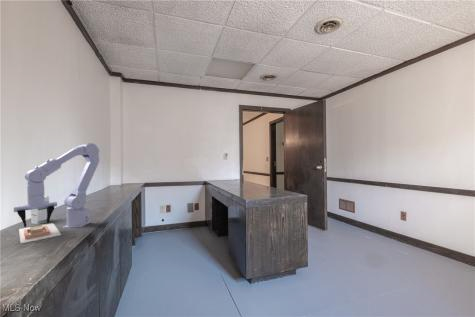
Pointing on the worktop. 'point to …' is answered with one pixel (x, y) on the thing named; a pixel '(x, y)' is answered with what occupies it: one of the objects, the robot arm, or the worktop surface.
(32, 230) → the maple block
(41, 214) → the syrup box
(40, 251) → the worktop surface
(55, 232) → the white mat
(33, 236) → the terracotta frame
